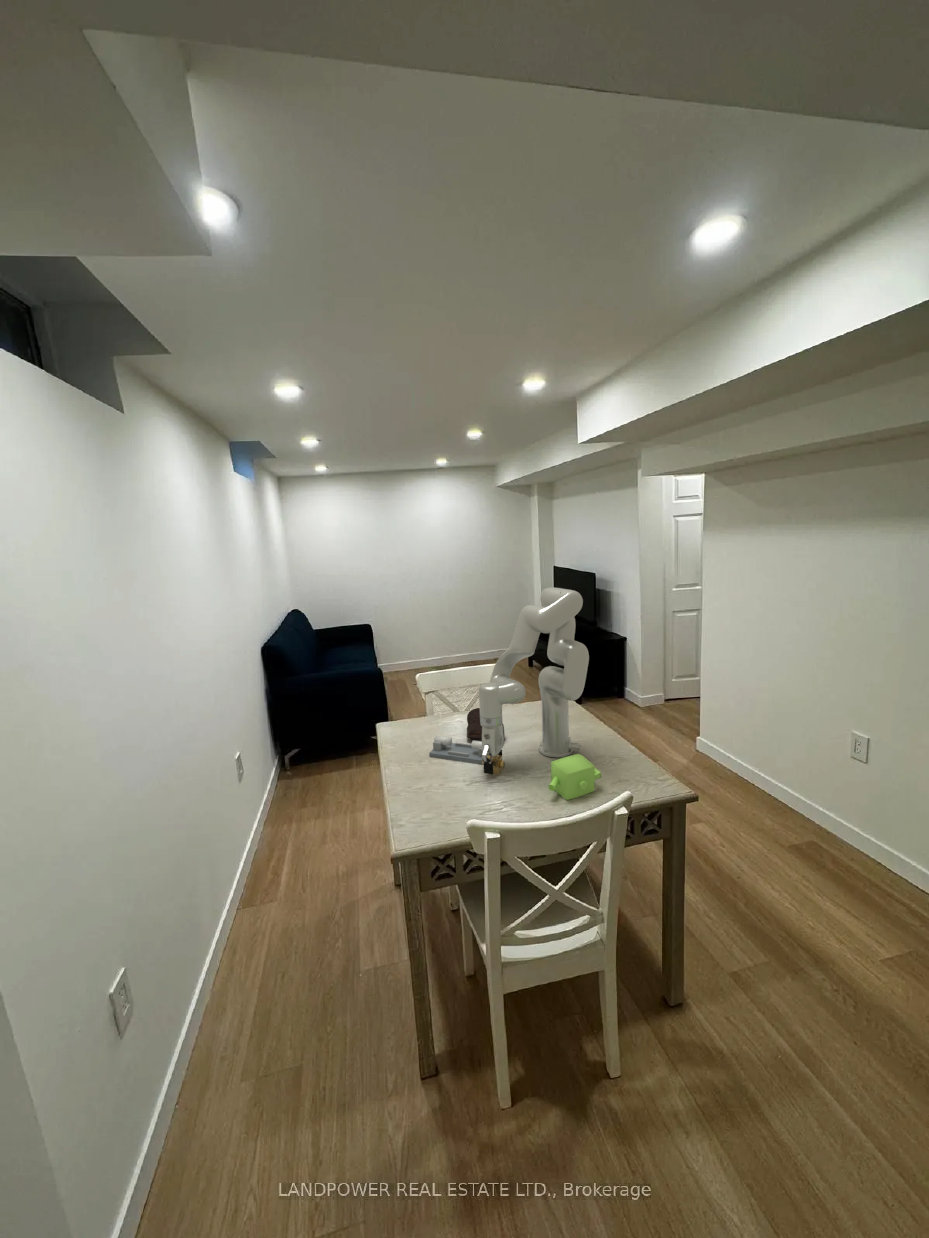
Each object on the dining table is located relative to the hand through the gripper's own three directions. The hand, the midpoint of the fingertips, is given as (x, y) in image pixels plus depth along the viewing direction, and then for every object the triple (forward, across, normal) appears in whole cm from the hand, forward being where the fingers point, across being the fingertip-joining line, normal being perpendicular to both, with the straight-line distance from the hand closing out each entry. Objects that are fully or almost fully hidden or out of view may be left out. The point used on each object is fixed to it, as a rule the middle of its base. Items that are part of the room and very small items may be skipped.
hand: (493, 766), depth 168 cm
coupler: (+2, 0, 0) cm, 2 cm away
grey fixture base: (+2, +8, +15) cm, 17 cm away
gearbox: (+2, -5, -28) cm, 28 cm away
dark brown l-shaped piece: (+2, +26, +12) cm, 29 cm away
